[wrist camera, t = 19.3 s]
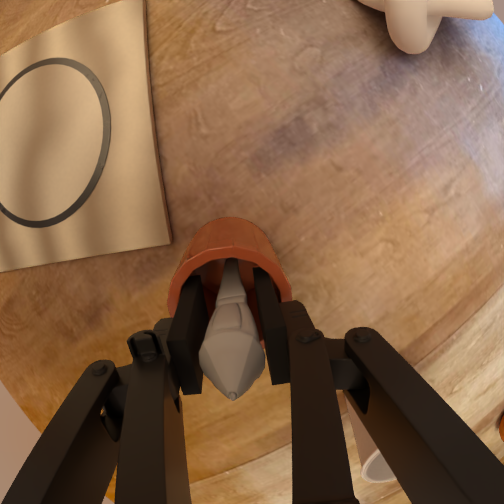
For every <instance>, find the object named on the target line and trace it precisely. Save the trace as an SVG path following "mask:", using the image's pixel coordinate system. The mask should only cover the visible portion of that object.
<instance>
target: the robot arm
mask: <svg viewBox="0 0 504 504" xmlns="http://www.w3.org/2000/svg"><path fill="white" fill-rule="evenodd" d="M252 270H253V277H254V285H255V292H256V300H257V307H258V314H259V319H260V324H261V330H262V335H263V340H264V345H265V350H266V355H267V361H268V366H269V371H270V376H271V381H272V385H278V384H284V383H290V385H291V419H292V504H360V503H359V501H358V499H356V498H355V496H354V491H353V485H352V478H351V472H350V466H349V460H348V454H347V448H346V442H345V437H344V431H343V426H342V420H341V415H340V410H339V405H338V400H337V395H336V390H343V393H344V395H345V396H346V398H347V399H348V401H349V403H350V404H351V406H352V407H353V409H354V411H355V412H356V414H357V416H358V417H359V419H360V420H361V422H362V424H363V425H364V427H365V428H366V430H367V432H368V433H369V435H370V436H371V438H372V440H373V441H374V443H375V445H376V446H377V448H378V449H379V451H380V453H381V454H382V456H383V457H384V459H385V461H386V462H387V464H388V466H389V467H390V469H391V470H392V472H393V474H394V475H395V477H396V478H397V480H398V482H399V483H400V485H401V487H402V488H403V490H404V491H405V493H406V495H407V496H408V498H409V500H410V501H411V503H412V504H504V465H503V464H502V463H501V462H500V461H499V460H498V459H497V457H496V456H495V455H494V454H493V453H492V452H491V451H490V450H489V448H488V447H487V446H486V445H485V444H484V443H483V442H482V441H481V440H480V439H479V437H478V436H477V435H476V434H475V433H474V432H473V431H472V430H471V429H470V428H469V427H468V425H467V424H466V423H465V422H464V421H463V420H462V419H461V418H460V417H459V416H458V415H457V414H456V412H455V411H454V410H453V409H452V408H451V407H450V406H449V405H448V404H447V403H446V402H445V401H444V400H443V399H442V398H441V397H440V396H439V394H438V393H437V392H436V391H435V390H434V389H433V388H432V387H431V386H430V385H429V384H428V383H427V382H426V381H425V380H424V379H423V378H422V377H421V376H420V375H419V374H418V373H417V372H416V371H415V369H414V368H413V367H412V366H411V365H410V364H409V363H408V362H407V361H406V360H405V359H404V358H403V357H402V356H401V355H400V354H399V353H398V352H397V351H396V350H395V349H394V348H393V347H392V346H391V345H390V344H389V343H388V342H387V341H386V340H385V339H384V338H383V337H382V336H381V335H380V334H379V333H378V332H377V331H375V330H374V329H371V328H368V327H358V328H353V329H351V330H349V331H348V332H347V333H346V334H345V339H330V338H325V337H324V335H323V333H322V332H321V331H319V330H318V329H315V327H314V325H313V323H312V321H311V319H310V317H309V315H308V313H307V311H306V309H305V307H304V305H303V304H302V303H300V302H299V301H297V300H294V301H288V302H281V303H278V300H277V297H276V294H275V291H274V288H273V285H272V282H271V279H270V276H269V273H267V272H266V271H265V270H263V269H262V268H260V267H253V268H252ZM208 323H209V315H208V311H207V306H206V301H205V296H204V291H203V286H202V281H201V276H200V275H195V276H189V277H188V279H187V280H186V281H185V284H184V287H183V290H182V293H181V296H180V299H179V302H178V305H177V308H176V311H175V314H174V317H173V318H164V319H161V320H160V321H158V322H157V323H156V324H155V326H154V329H153V330H143V331H139V332H137V333H135V334H133V335H131V336H130V337H129V338H128V340H127V344H128V346H129V349H130V352H131V354H132V357H133V362H132V364H130V365H127V366H123V367H119V368H116V367H115V364H114V363H113V362H112V361H111V360H99V361H96V362H94V363H92V364H91V365H89V366H88V367H87V368H86V370H85V371H84V373H83V374H82V375H81V377H80V378H79V380H78V381H77V383H76V384H75V385H74V387H73V388H72V390H71V391H70V393H69V394H68V396H67V397H66V399H65V400H64V402H63V403H62V405H61V406H60V408H59V409H58V411H57V412H56V414H55V415H54V417H53V418H52V420H51V421H50V423H49V424H48V426H47V427H46V429H45V430H44V432H43V434H42V435H41V437H40V438H39V440H38V442H37V443H36V445H35V446H34V448H33V450H32V451H31V453H30V455H29V456H28V458H27V459H26V461H25V463H24V464H23V466H22V468H21V470H20V471H19V473H18V475H17V476H16V478H15V480H14V482H13V483H12V485H11V487H10V489H9V490H8V492H7V494H6V496H5V498H4V499H3V501H2V503H1V504H102V501H103V499H104V496H105V494H106V491H107V488H108V486H109V483H110V480H111V478H112V475H113V473H114V470H115V468H116V465H117V463H118V465H117V476H116V489H115V504H192V503H191V496H190V488H189V479H188V470H187V460H186V450H185V439H184V426H183V412H182V401H181V398H180V396H179V390H180V387H181V389H182V392H183V395H191V394H201V392H202V381H203V371H202V369H201V366H200V364H199V351H200V348H201V346H202V343H203V341H204V338H205V334H206V330H207V327H208ZM102 408H103V410H104V411H103V413H102V415H100V413H101V410H102Z"/></svg>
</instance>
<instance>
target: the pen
mask: <svg viewBox="0 0 504 504" xmlns="http://www.w3.org/2000/svg"><path fill="white" fill-rule="evenodd" d="M215 307H216V309H215V311H214V313H213V315H212V317H211V320H210V322H209V325H208V327H207V330H206V334H205V338H204V341H203V343H202V346H201V348H200V351H199V364H200V366H201V369H202V371H203V373H204V375H205V376H206V377H207V378H209V379H210V380H211V381H212V383H213V384H214V386H215V387H216V388H217V389H218V390H219V391H220V392H221V393H223V394H224V395H225V396H226V397H227V398H229V399H231V400H232V401H234V400H235V399H237V398H239V397H240V396H242V395H243V394H244V393H245V392H246V391H247V390H248V389H249V388H250V387H251V386H252V384H253V382H254V381H255V380H256V379H257V378H259V377H260V375H261V373H262V371H263V370H264V368H265V354H264V351H263V348H262V345H261V344H260V341H259V335H258V330H257V327H256V323H255V321H254V318H253V315H252V313H251V311H250V309H249V307H248V304H247V295H246V292H245V289H244V286H243V283H242V280H241V276H240V272H239V265H238V260H237V258H233V257H231V258H227V259H226V261H225V264H224V271H223V277H222V281H221V285H220V289H219V293H218V296H217V300H216V305H215Z"/></svg>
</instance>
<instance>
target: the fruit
mask: <svg viewBox="0 0 504 504" xmlns="http://www.w3.org/2000/svg"><path fill="white" fill-rule="evenodd" d="M499 433H500V436H501V439H502V440H503V442H504V415H503V417H502V419H501V422H500V426H499Z"/></svg>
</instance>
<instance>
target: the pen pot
mask: <svg viewBox="0 0 504 504" xmlns="http://www.w3.org/2000/svg"><path fill="white" fill-rule="evenodd" d="M231 257H233V258H237V260H238V265H239V272H240V276H241V280H242V283H243V286H244V289H245V292H246V295H247V304H248V307H249V309H250V311H251V313H252V315H253V318H254V321H255V323H256V327H257V330H258V335H259V341H260V344H261V345H262V348H263V349H265V345H264V340H263V335H262V330H261V324H260V319H259V314H258V307H257V300H256V292H255V285H254V277H253V270H252V268H253V267H260V268H262V269H263V270H265V271H266V272H267V273H269V276H270V279H271V282H272V285H273V288H274V291H275V294H276V297H277V300H278V303H281V302H288V301H292V292H291V286H290V284H289V281H288V279H287V277H286V275H285V273H284V271H283V268H282V266H281V264H280V262H279V260H278V258H277V256H276V254H275V251H274V249H273V247H272V245H271V244H270V242H269V240H268V238H267V237H266V235H265V234H264V232H263V231H262V230H261V229H260V228H259V227H257V226H256V225H255V224H253V223H252V222H249V221H247V220H245V219H241V218H236V217H224V218H219V219H216V220H213V221H211V222H209V223H207V224H206V225H204V226H203V227H202V228H201V229H200V230H198V232H197V233H196V234H195V236H194V237H193V239H192V240H191V242H190V243H189V245H188V247H187V249H186V251H185V253H184V255H183V257H182V259H181V262H180V264H179V266H178V268H177V270H176V272H175V274H174V276H173V278H172V281H171V284H170V289H169V294H168V300H167V305H168V309H169V313H170V317H171V318H173V317H174V314H175V311H176V308H177V305H178V302H179V299H180V296H181V293H182V290H183V287H184V284H185V281H186V280H187V279H188V277H189V276H195V275H200V276H201V281H202V286H203V291H204V296H205V301H206V306H207V311H208V315H209V322H210V320H211V317H212V315H213V313H214V311H215V309H216V307H215V305H216V300H217V296H218V293H219V289H220V285H221V281H222V277H223V271H224V264H225V261H226V259H227V258H231ZM208 325H209V323H208Z"/></svg>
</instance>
